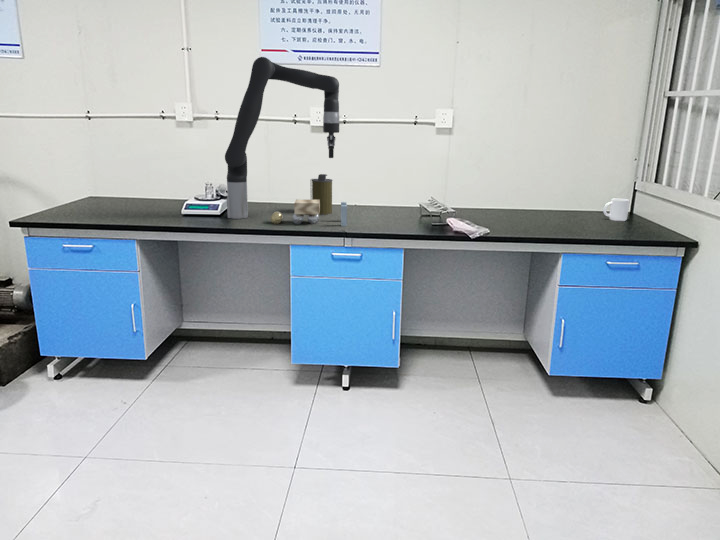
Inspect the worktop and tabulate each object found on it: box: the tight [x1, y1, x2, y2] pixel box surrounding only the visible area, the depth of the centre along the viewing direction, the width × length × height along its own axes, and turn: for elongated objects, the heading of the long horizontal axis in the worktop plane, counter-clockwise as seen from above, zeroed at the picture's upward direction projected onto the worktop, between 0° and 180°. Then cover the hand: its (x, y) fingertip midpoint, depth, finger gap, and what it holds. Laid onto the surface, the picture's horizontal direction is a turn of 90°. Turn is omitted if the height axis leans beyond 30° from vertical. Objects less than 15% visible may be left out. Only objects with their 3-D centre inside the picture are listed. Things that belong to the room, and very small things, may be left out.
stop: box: [340, 201, 348, 227], centre depth 257 cm, size 2×14×9 cm, turn 3°
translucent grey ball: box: [307, 214, 320, 225], centre depth 257 cm, size 5×6×5 cm
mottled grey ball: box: [291, 212, 305, 225], centre depth 257 cm, size 5×6×5 cm
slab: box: [293, 199, 320, 215], centre depth 256 cm, size 11×12×5 cm
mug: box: [602, 197, 630, 222], centre depth 279 cm, size 12×8×10 cm
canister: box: [311, 173, 334, 216], centre depth 280 cm, size 11×10×20 cm
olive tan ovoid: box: [270, 210, 284, 225], centre depth 256 cm, size 5×6×5 cm
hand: (331, 157), depth 264 cm, fingers open, 8 cm apart
